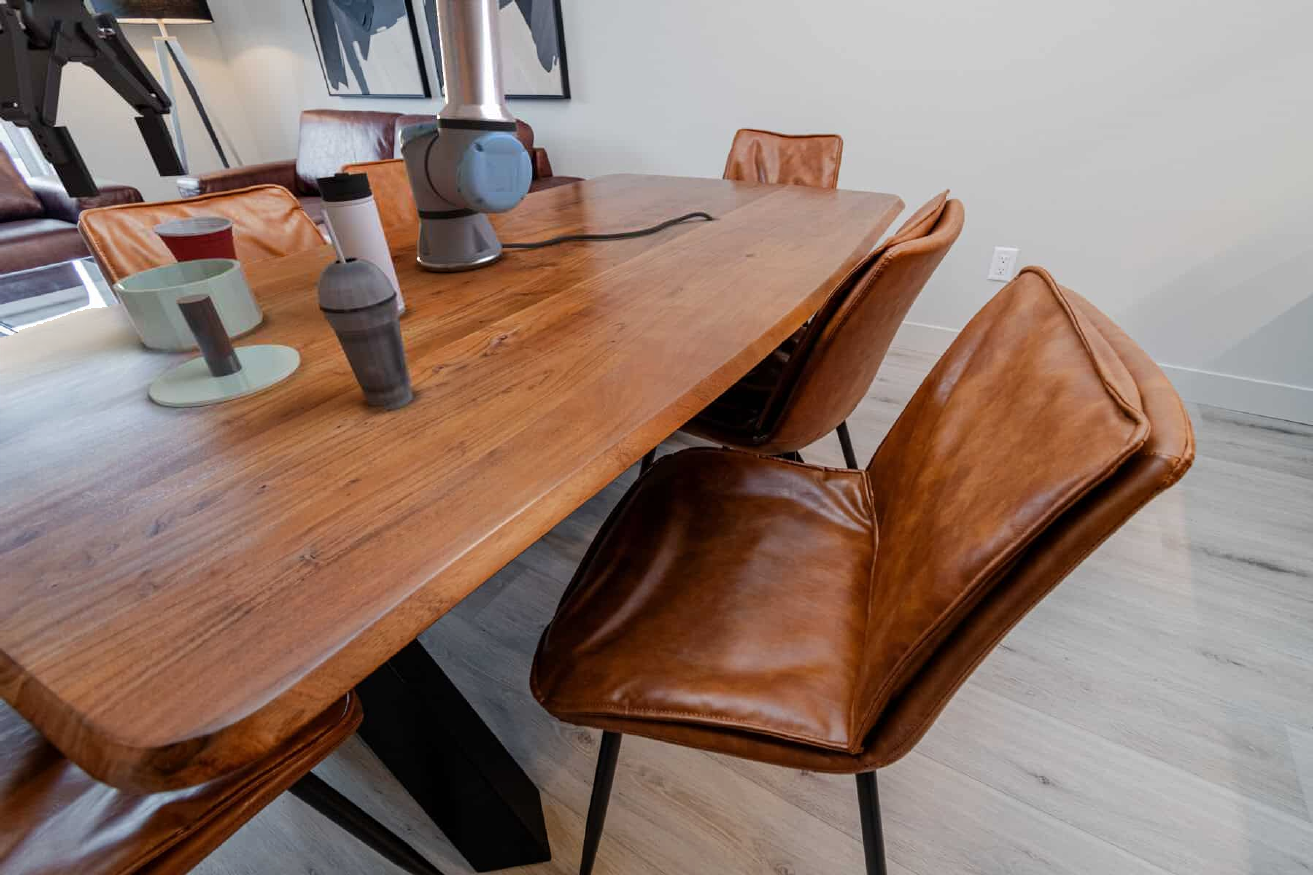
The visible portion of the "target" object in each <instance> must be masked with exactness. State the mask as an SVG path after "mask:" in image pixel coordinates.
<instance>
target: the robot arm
mask: <svg viewBox="0 0 1313 875" xmlns="http://www.w3.org/2000/svg"><path fill="white" fill-rule="evenodd" d="M4 1H5V3H0V119H1V120H2V121H4V122H7V123H8V122H11V123H12V124H13V125H14V126H15V127H16V128H18V129H24V128H26V129H28V131H29V132H30V134H31V135H32V138H33V139H34V142H35V143H36V145H37V147H38V148H39V150H40V152H41V154H42V156H43V158H44V159H45V161H47V163H48V164H50V165H52V167H53V169H54V171H55V173H56V175H57V177H58V179H59V180H60V182H61V184H62V187H63V188H64V190H65V192H66V194H67V195H68V197H69V199H76V198H77V199H79V198H81V199H82V198H96V197H100V196H101V197H102V194H101V193H100V191H99V189H98V186H97V185H96V182H95V181H94V178H93V176H92V174H91V173H90V171H89V168H88V167H87V165H86V163H85V161H84V159H83V157H82V154H81V153H80V151H79V149H78V147H77V145H76V143H75V141H74V139H73V137H72V134H71V133H70V131H69V129H68V127H67V125H60V126H59V125H57V126H56V124H57V118H58V117H57V116H58V108H59V99H60V92H61V90H60V89H61V81H62V74H63V68H64V66H67V64H68V63H81V64H82V65H83V66H85V67H88V68H90V69H92V70H93V71H94V72H95V73H96V74H97V75H98V76H99V77H100V78H101V79H102V80H104V82H105V83H106V84H107V85H108V86H110V88H112V89H113V91H115V93H117V94H118V96H120V97H121V98H122V99H123V100H124V101H125V102H126V103H127V104H128V105H129V106H130V107H131V108H132V109H133V110H135V112H137V113H138V114H139V115H140V116H134V117H133V119H134V120H135V123H136V126H137V127H138V130H139V132H140V134H141V136H142V139H143V141H144V143H145V145H146V147H147V150H148V152H149V155H150V157H151V159H152V161H153V163H154V165H155V168H156V170H157V172H158V174H159V177H160V178H162V177H163V178H164V177H182V176H187V174H186V171H185V169H184V167H183V164H182V162H181V159H180V157H179V155H178V152H177V150H176V147H175V145H174V141H173V137H172V135H171V133H170V130H169V127H168V126H167V125H168V124H167V123H166V121H165V118H164V115H171V108H172V107H173V102H172V100H171V99H170V97H169V96H168V94H167V93H166V92H165V90H164V89H163V87H162V86H161V85H160V83H159V82H158V81H157V79H156V78H155V76H154V75H153V74H152V72H151V71H150V70H149V68H148V66H147V65H146V64H145V62H144V61H143V59H142V58H141V57H140V56H139V54H138V53H137V51H136V50H135V49H134V47H133V46H132V45H131V43H130V42H129V41H128V39H127V38H126V36H125V34H124V31H123V30H122V28H121V26H120V24H119V22H118V20H117V18H116V16H115V15H114V14H113V13H111V12H95V13H90V11H89V10H88V8H87V7H86V5H85V0H4ZM435 2H436V12H437V24H438V33H439V44H440V52H441V54H440V55H441V64H442V73H443V83H444V93H445V104H444V106H443V107H442V109H441V110H440V111H439V112H438V113H437V115H436V120H432V121H426V122H420V123H413V124H409V125H405V126H403V127H402V128H400V129H399V132H398V140H399V145H400V150H399V152H400V154H401V155H402V159H403V162H404V167H405V171H406V176H407V179H408V182H409V185H410V190H411V195H412V197H413V202H414V205H415V209H416V213H417V217H418V223H419V224H418V240H417V242H418V243H417V260H418V264H419V267H420V268H421V269H423V270H425V271H429V272H437V273H452V272H463V271H470V270H471V271H472V270H475V269H479V268H483V267H487V266H490V265H492V264H495V263H497V262H499V261H500V260H501V259H503V257H504V249H535V248H542V247H545V246H550V245H553V244H557V243H561V242H564V241H573V240H613V239H622V238H623V239H624V238H631V237H637V236H642V235H647V234H651V233H655V232H658V231H660V230H662V229H663V228H665V227H667V226H670V225H674V224H678V223H680V222H683V221H686V220H689V219H692V218H697V217H700V218H701V217H702V218H705V219H707V221H714V218H713V217H712V216H711V215H710V214H708V213H706V212H702V211H696V212H691V213H688V214H685V215H683V216H680V217H677V218H673V219H670V220H666V221H664V222H662V223H660V224H657V225H655V226H653V227H650V228H645V229H641V230H636V231H628V232H620V233H609V234H570V235H563V236H559V237H554V238H550V239H548V240H544V241H539V242H529V243H528V242H526V243H522V242H516V243H515V242H514V243H510V242H509V243H501V241H500V239H499V237H498V236H497V233H496V231H495V229H494V227H493V226H492V223H491V222H490V220H489V217H488V216H487V214H494V215H498V214H500V215H501V214H504V213H508V212H511V211H513V210H514V209H515V208H516V207H518V206H519V205H520V203H522V202H523V200H524V199H525V198H526V196H527V194H528V193H529V190H530V187H531V184H532V180H533V165H532V161H531V157H530V155H529V152H528V150H527V149H525V147H524V145H523V143H522V142H521V141H520V140H518V132H517V120H516V118H515V117H514V116H513V114H512V113H511V112H510V111H509V110H508V109H507V106H506V100H505V99H506V98H505V81H504V67H503V66H504V65H503V50H502V47H503V46H502V33H501V32H502V31H501V14H500V0H435ZM153 95H155V96H153ZM15 105H16V106H15Z"/></svg>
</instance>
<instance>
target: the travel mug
mask: <svg viewBox="0 0 1313 875" xmlns="http://www.w3.org/2000/svg"><path fill="white" fill-rule="evenodd" d="M315 182H316V185H317V187H318V191H319V193H320V196H321V199H322V204H323V205H324V210H325V211H326V213H327V216H328V219H329V221H330V224H331V226H332V229H333V231H334V234H335V236H336V239H337V241H338V244H339V246H340V249H341V252H342V254H343V257H344V258H348V257H356V258H361V259H364V260H367V261H369V262H371V263H373V264H375V265H376V266H377V267H379V268H380V269H381V270H382V271H383V272H384V273H385V275H386V276H387V277H388V279H389V280H390V282H391V284H392V286H393V288H394V290H395V291H396V293H397V296H396V299H397V304H398V316H401V315H402V314H404V313H405V312H406V306H405V303H404V299H403V295H402V292H401V288H400V285H399V280H398V278H397V275H396V274H397V273H396V271H395V267H394V264H393V260H392V257H391V253H390V250H389V247H388V243H387V239H386V235H385V233H384V229H383V225H382V222H381V219H380V215H379V211H378V208H377V204H376V200H375V198H374V197H375V196H374V194H373V191H372V189H371V188H370V187H371V185H370V182H369V178H368V175H367V172H360V173H352V174H351V173H350V174H349V172H348V171H347V172H346V171H345V172H337V173H333V176H325V177H316V178H315Z"/></svg>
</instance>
